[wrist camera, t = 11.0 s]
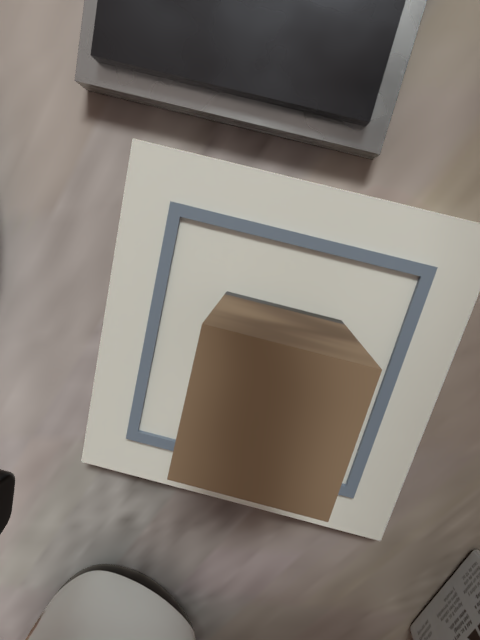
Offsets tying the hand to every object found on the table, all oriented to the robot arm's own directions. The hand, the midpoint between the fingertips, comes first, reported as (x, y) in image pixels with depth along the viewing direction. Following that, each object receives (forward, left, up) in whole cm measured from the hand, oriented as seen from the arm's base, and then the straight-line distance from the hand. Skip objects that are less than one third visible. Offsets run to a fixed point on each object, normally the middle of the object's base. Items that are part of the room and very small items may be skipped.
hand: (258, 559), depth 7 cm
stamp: (0, 0, -10) cm, 10 cm away
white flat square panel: (0, 0, -11) cm, 11 cm away
